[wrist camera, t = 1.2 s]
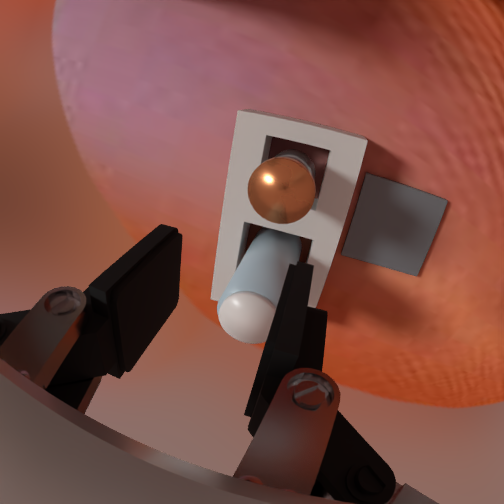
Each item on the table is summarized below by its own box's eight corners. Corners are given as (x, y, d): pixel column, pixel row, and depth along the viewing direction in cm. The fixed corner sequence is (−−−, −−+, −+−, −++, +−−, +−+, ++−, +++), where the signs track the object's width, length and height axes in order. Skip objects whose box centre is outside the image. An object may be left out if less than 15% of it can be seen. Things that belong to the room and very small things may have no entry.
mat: (446, 199, 25) (447, 200, 24) (416, 274, 29) (416, 276, 28) (366, 172, 26) (366, 173, 25) (341, 253, 30) (341, 254, 29)
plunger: (324, 152, 24) (322, 168, 18) (312, 202, 26) (306, 231, 20) (271, 140, 24) (253, 152, 19) (262, 189, 26) (242, 214, 21)
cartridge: (306, 230, 30) (289, 303, 20) (295, 271, 32) (273, 354, 22) (258, 217, 30) (218, 283, 20) (250, 259, 32) (211, 335, 22)
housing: (363, 136, 24) (367, 140, 22) (311, 307, 33) (308, 327, 30) (248, 109, 26) (237, 110, 23) (220, 282, 35) (210, 299, 32)
